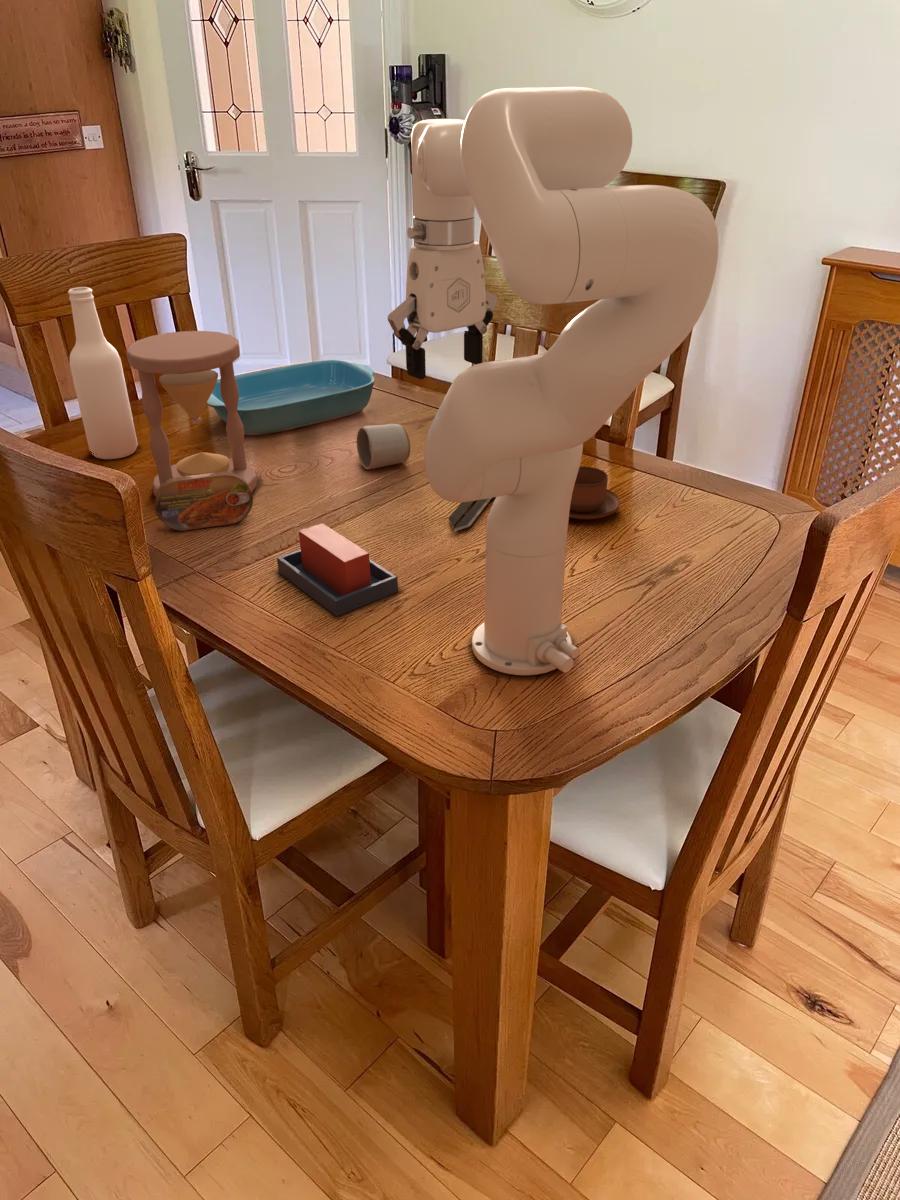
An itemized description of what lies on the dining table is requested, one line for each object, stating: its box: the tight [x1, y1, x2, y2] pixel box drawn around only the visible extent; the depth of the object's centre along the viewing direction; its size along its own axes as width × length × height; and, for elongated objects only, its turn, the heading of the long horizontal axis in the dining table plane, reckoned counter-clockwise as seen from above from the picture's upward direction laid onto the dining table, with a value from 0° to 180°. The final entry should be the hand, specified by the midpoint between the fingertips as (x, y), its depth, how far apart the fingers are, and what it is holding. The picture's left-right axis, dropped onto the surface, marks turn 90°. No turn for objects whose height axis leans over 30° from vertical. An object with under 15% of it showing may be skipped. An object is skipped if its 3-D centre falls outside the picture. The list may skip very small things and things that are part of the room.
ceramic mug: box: [355, 423, 411, 470], centre depth 162 cm, size 11×8×8 cm
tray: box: [276, 549, 399, 617], centre depth 126 cm, size 16×10×2 cm, turn 39°
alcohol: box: [67, 286, 139, 460], centre depth 162 cm, size 9×9×30 cm
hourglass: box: [125, 330, 258, 497], centre depth 148 cm, size 18×18×25 cm
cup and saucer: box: [569, 466, 621, 521], centre depth 145 cm, size 12×12×6 cm
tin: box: [153, 471, 254, 532], centre depth 141 cm, size 15×3×8 cm, turn 105°
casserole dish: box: [206, 359, 375, 436], centre depth 185 cm, size 37×22×7 cm, turn 123°
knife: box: [448, 497, 496, 533], centre depth 149 cm, size 25×6×1 cm, turn 154°
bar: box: [298, 522, 371, 596], centre depth 125 cm, size 4×12×6 cm, turn 39°
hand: (445, 369), depth 118 cm, fingers open, 9 cm apart
